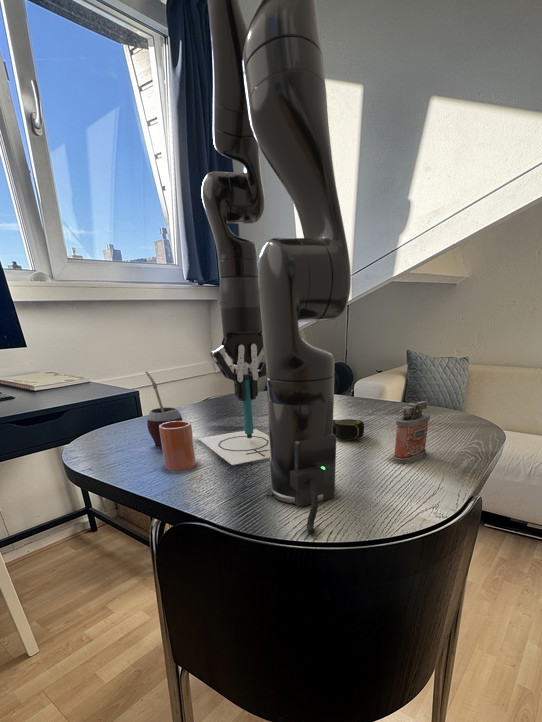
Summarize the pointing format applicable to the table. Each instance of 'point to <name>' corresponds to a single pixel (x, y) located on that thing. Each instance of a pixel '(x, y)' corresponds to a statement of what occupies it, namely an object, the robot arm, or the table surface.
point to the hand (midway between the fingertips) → (247, 399)
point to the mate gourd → (160, 417)
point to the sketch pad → (239, 446)
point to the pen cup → (177, 445)
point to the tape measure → (348, 429)
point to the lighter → (411, 433)
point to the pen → (247, 407)
